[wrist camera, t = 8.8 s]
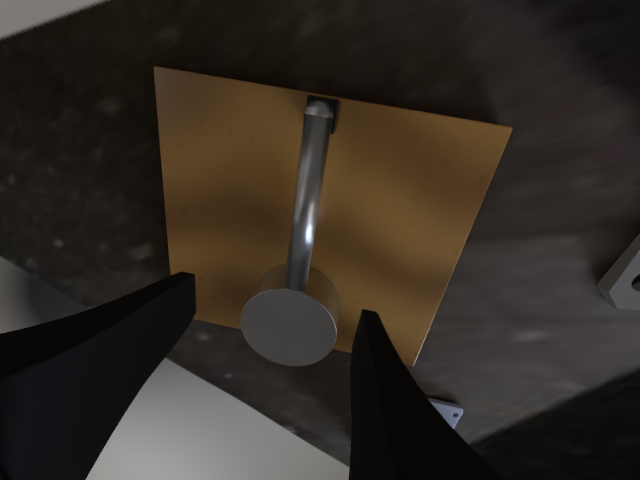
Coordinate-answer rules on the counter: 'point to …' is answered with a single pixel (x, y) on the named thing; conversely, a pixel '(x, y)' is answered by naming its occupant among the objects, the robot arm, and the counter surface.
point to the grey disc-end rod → (299, 264)
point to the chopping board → (335, 202)
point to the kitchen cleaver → (623, 279)
